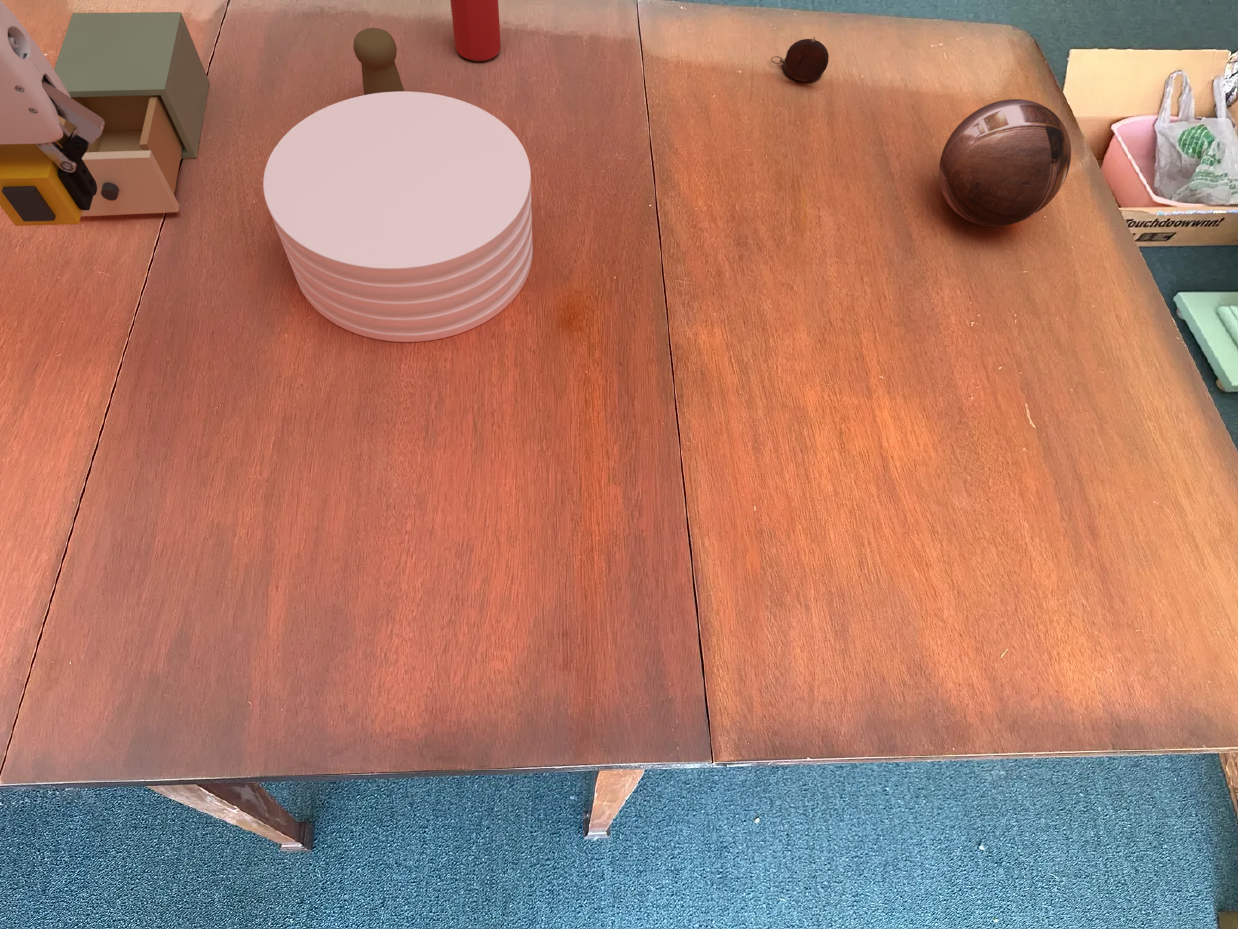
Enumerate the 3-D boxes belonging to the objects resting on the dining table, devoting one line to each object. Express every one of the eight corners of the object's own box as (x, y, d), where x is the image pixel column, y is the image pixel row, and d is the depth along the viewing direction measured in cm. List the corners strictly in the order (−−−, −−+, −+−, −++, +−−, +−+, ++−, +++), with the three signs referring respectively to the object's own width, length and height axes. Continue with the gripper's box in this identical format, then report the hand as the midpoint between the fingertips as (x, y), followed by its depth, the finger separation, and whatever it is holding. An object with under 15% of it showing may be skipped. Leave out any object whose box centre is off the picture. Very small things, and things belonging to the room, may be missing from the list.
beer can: (464, 67, 112) (455, -20, 102) (449, 41, 115) (439, -46, 105) (507, 59, 114) (503, -27, 104) (492, 33, 117) (486, -53, 106)
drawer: (177, 219, 92) (147, 164, 85) (72, 224, 90) (34, 168, 84) (192, 132, 100) (166, 76, 93) (96, 135, 98) (62, 78, 91)
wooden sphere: (900, 182, 107) (948, 80, 94) (992, 165, 110) (1051, 66, 97) (955, 259, 100) (1016, 162, 87) (1052, 240, 103) (1123, 143, 90)
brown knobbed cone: (376, 132, 104) (359, 53, 94) (358, 106, 106) (339, 27, 96) (418, 120, 106) (405, 41, 96) (399, 94, 108) (385, 15, 98)
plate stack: (294, 355, 84) (260, 281, 75) (293, 181, 98) (264, 98, 88) (549, 327, 89) (549, 254, 79) (515, 164, 103) (511, 84, 93)
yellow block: (13, 231, 66) (-23, 183, 62) (30, 181, 69) (-4, 132, 65) (77, 229, 67) (45, 182, 63) (91, 179, 70) (61, 131, 66)
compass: (823, 63, 120) (838, 15, 113) (818, 93, 116) (833, 46, 109) (772, 52, 120) (784, 4, 114) (765, 82, 116) (778, 34, 110)
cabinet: (196, 158, 99) (164, 88, 90) (89, 162, 97) (46, 91, 88) (209, 82, 106) (181, 11, 98) (110, 84, 104) (72, 12, 96)
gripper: (57, -42, 55) (163, 169, 71) (-216, -47, 53) (-44, 172, 69) (33, 20, 52) (150, 228, 67) (-262, 17, 49) (-69, 234, 65)
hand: (51, 198), depth 68 cm, fingers closed on yellow block, 5 cm apart
